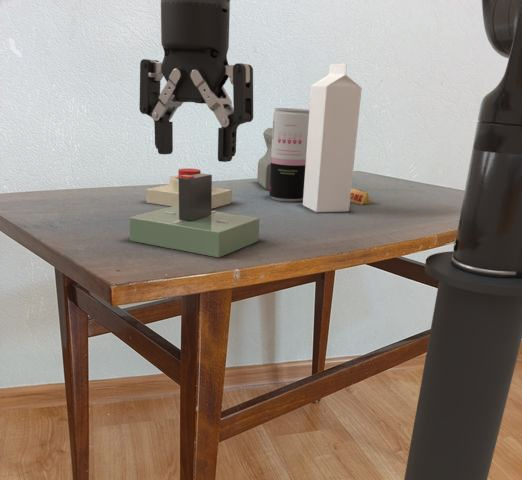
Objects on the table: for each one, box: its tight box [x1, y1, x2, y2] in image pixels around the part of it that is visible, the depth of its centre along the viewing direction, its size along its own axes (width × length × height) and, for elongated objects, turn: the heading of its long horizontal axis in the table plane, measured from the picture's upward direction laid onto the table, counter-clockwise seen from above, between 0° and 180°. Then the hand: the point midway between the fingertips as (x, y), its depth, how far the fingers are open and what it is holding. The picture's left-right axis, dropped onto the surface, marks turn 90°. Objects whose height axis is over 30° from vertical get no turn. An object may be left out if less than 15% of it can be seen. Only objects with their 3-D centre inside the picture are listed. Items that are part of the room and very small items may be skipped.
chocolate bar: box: [350, 188, 372, 206], centre depth 109 cm, size 3×12×2 cm, turn 35°
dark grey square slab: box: [179, 173, 213, 221], centre depth 73 cm, size 5×2×5 cm, turn 152°
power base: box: [145, 175, 233, 210], centre depth 98 cm, size 11×9×4 cm
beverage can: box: [268, 107, 310, 203], centre depth 103 cm, size 7×6×15 cm
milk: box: [302, 63, 363, 213], centre depth 95 cm, size 6×6×22 cm
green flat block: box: [128, 205, 260, 258], centre depth 75 cm, size 13×10×3 cm
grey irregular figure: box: [256, 127, 273, 191], centre depth 117 cm, size 16×9×11 cm, turn 179°
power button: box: [177, 167, 202, 179], centre depth 97 cm, size 4×4×2 cm
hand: (194, 157), depth 71 cm, fingers open, 8 cm apart
